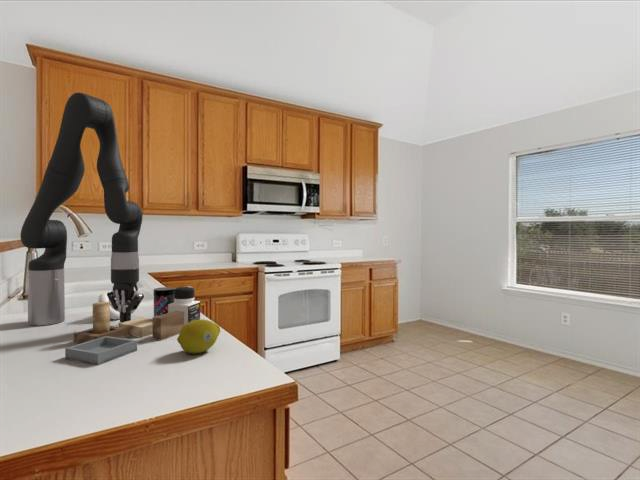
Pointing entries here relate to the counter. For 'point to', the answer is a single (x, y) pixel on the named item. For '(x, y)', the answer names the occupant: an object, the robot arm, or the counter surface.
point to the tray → (100, 350)
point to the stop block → (167, 325)
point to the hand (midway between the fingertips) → (125, 324)
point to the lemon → (198, 336)
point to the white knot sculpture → (113, 313)
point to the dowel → (101, 317)
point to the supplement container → (162, 300)
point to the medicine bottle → (185, 304)
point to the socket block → (89, 335)
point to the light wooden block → (138, 327)
